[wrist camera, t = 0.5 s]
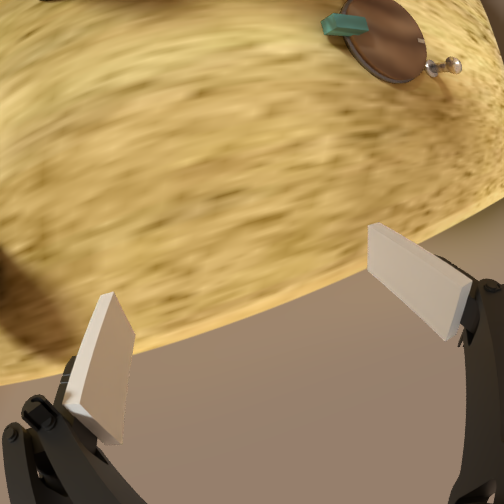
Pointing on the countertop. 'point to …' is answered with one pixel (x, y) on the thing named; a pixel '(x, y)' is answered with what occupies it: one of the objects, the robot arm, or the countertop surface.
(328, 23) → the brown and teal disc
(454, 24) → the countertop surface
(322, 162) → the countertop surface
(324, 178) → the countertop surface
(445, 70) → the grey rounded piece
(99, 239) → the countertop surface
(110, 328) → the robot arm
